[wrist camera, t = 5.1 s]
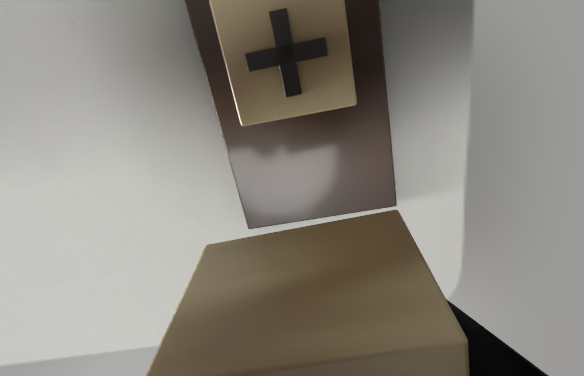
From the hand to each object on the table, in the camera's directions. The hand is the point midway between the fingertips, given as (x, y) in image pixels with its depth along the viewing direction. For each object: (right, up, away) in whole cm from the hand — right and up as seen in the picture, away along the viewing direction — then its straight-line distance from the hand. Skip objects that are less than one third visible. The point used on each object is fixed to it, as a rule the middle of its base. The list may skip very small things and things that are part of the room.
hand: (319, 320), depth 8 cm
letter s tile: (0, 0, +1) cm, 1 cm away
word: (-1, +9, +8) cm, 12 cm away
